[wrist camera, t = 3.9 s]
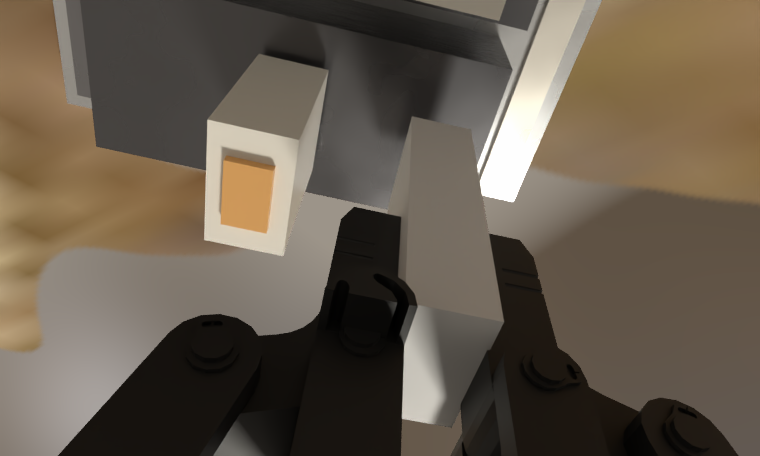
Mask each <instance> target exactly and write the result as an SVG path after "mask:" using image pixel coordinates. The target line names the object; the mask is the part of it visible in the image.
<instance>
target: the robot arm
mask: <svg viewBox="0 0 760 456" xmlns="http://www.w3.org/2000/svg"><path fill="white" fill-rule="evenodd" d="M488 232H489V231H488V226H487V220H486V214H485V209H484V203H483V197H482V191H481V185H480V179H479V173H478V168H477V162H476V156H475V150H474V144H473V139H472V133H471V129H466V128H462V127H458V126H453V125H449V124H444V123H440V122H435V121H431V120H426V119H422V118H417V117H413V116H412V118H411V122H410V126H409V130H408V133H407V137H406V141H405V145H404V149H403V152H402V156H401V160H400V164H399V167H398V171H397V175H396V179H395V183H394V186H393V190H392V194H391V198H390V202H389V205H388V214H385V213H380V212H375V211H371V210H366V209H362V208H357V207H354V208H353V209H352V210H350V211H349V212H348V213H347V214H346V215H345V216H344V217H343V218H342V219H341V222H340V226H339V231H338V236H337V240H336V246H335V249H334V254H333V259H332V263H331V268H330V273H329V277H328V282H327V286H326V287H325V291H324V296H323V301H322V306H321V310H320V312H319V314H318V315H317V316H316V318H315V319H314V320H313V321H312V322H311V323H309V324H308V325H306V326H305V327H303V328H301V329H298V330H296V331H293V332H289V333H284V334H277V335H263V336H258V335H257V334H256V332H255V331H254V329H253V328H252V327H251V326H249V325H248V324H246V323H245V322H243V321H241V320H239V319H238V318H235V317H230V316H225V315H221V314H215V315H201V316H198V317H195V318H192V319H189V320H187V321H184V322H182V323H181V324H180V325H178V326H177V327H176V328H174V329H173V330H172V331H170V332H169V333H168V334H167V335H166V337H165V338H164V339H163V340H162V341H161V342H160V343H159V344H158V346H157V347H156V348H155V349H154V350H153V351H152V352H151V353H150V354H149V355H148V356H147V358H146V359H145V360H144V361H143V362H142V363H141V364H140V365H139V366H138V368H137V369H136V370H135V371H134V372H133V373H132V374H131V375H130V376H129V378H128V379H127V380H126V381H125V382H124V383H123V384H122V385H121V387H119V389H118V390H117V391H116V392H115V393H114V394H113V395H112V396H111V398H110V399H109V400H108V401H107V402H106V403H105V404H104V405H103V406H102V407H101V409H100V410H99V411H98V412H97V413H96V414H95V415H94V416H93V417H92V419H91V420H90V421H89V422H88V423H87V424H86V425H85V426H84V428H83V429H82V430H81V431H80V432H79V433H78V434H77V435H76V436H75V437H74V439H73V440H72V441H71V442H70V443H69V444H68V445H67V446H66V447H65V448H64V450H63V451H62V452H61V453H60V454H59V455H58V456H401V430H402V418H403V419H408V420H413V421H418V422H424V423H429V424H435V425H440V426H445V427H452V426H453V424H454V422H455V420H456V417H457V416H458V414H459V412H460V410H461V419H462V435H461V437H460V439H459V440H458V442H457V444H456V446H455V448H454V450H453V452H452V454H451V456H738V455H737V453H736V452H735V451H734V449H733V448H732V446H731V445H730V444H729V442H728V441H727V440H726V438H725V437H724V436H723V434H722V433H721V432H720V431H719V430H718V429H717V428H716V427H715V426H714V424H713V423H712V422H711V421H710V420H709V419H707V418H706V417H705V416H703V415H702V414H701V413H699V412H698V411H696V410H695V409H694V408H692V407H690V406H688V405H685V404H683V403H681V402H679V401H676V400H671V399H665V398H658V399H654V400H650V401H648V402H647V403H646V404H645V406H644V407H643V408H642V409H641V411H640V412H639V411H636V410H634V409H632V408H630V407H628V406H626V405H623V404H621V403H619V402H617V401H615V400H613V399H610V398H608V397H606V396H604V395H602V394H600V393H598V392H597V391H595V390H593V389H591V388H590V387H589V386H588V383H587V380H586V378H585V376H584V374H583V372H582V370H581V368H580V367H579V366H578V364H577V363H576V362H575V361H574V360H573V359H572V358H571V357H570V356H569V355H568V354H567V353H565V352H563V351H562V350H560V349H559V348H558V347H557V343H556V339H555V336H554V332H553V328H552V325H551V321H550V318H549V313H548V310H547V306H546V302H545V299H544V295H543V294H542V288H541V284H540V280H539V279H538V273H537V269H536V265H535V262H534V258H533V256H532V255H531V254H530V253H529V251H528V250H527V249H526V248H525V246H524V245H523V244H522V242H521V241H520V240H517V239H512V238H507V237H503V236H498V235H493V234H489V233H488Z"/></svg>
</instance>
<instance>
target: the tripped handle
mask: <svg viewBox="0 0 760 456" xmlns="http://www.w3.org/2000/svg"><path fill="white" fill-rule="evenodd" d="M328 71H329V70H326V69H322V68H317V67H313V66H309V65H305V64H300V63H296V62H292V61H288V60H283V59H279V58H275V57H270V56H266V55H262V54H258V56H257V57H256V58H255V59H254V61H253V62H252V63H251V65H250V66H249V67H248V68H247V70H246V71H245V72H244V73H243V75H242V76H241V77H240V79H239V80H238V81H237V82H236V84H235V85H234V86H233V88H232V89H231V90H230V91H229V93H228V94H227V95H226V96H225V98H224V99H223V100H222V102H221V103H220V104H219V105H218V107H217V108H216V109H215V110H214V112H213V113H212V114H211V116H210V117H209V118H208V119H207V154H206V194H205V233H204V240H208V241H213V242H217V243H222V244H227V245H232V246H237V247H241V248H246V249H251V250H256V251H261V252H266V253H271V254H275V255H280V256H283V255H284V252H285V249H286V246H287V243H288V241H289V238H290V235H291V232H292V229H293V225H294V223H295V220H296V217H297V214H298V211H299V208H300V205H301V202H302V199H303V196H304V193H305V190H306V187H307V184H308V181H309V179H310V176H311V173H312V170H313V164H314V157H315V151H316V145H317V139H318V133H319V126H320V120H321V114H322V108H323V102H324V96H325V89H326V83H327V77H328Z"/></svg>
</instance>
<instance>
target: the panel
mask: <svg viewBox="0 0 760 456" xmlns="http://www.w3.org/2000/svg"><path fill="white" fill-rule="evenodd" d="M601 1H602V0H506V2H505V5H504V8H503V11H502V14H501V17H500V20H499V21H497V20H493V19H489V18H485V17H481V16H477V15H473V14H468V13H464V12H460V11H456V10H452V9H448V8H444V7H440V6H436V5H432V4H428V3H424V2H420V1H416V0H53V5H54V12H55V19H56V26H57V33H58V40H59V47H60V54H61V62H62V69H63V76H64V83H65V90H66V97H67V103H69V104H73V105H78V106H82V107H87V108H91V109H92V111H93V120H94V129H95V138H96V147H101V148H106V149H110V150H115V151H120V152H124V153H129V154H133V155H138V156H143V157H147V158H152V159H156V160H161V161H166V162H170V163H175V164H180V165H184V166H189V167H193V168H198V169H203V170H206V154H207V119H208V118H209V117H210V116H211V114H212V113H213V112H214V110H215V109H216V108H217V107H218V105H219V104H220V103H221V102H222V100H223V99H224V98H225V96H226V95H227V94H228V93H229V91H230V90H231V89H232V88H233V86H234V85H235V84H236V82H237V81H238V80H239V79H240V77H241V76H242V75H243V73H244V72H245V71H246V70H247V68H248V67H249V66H250V65H251V63H252V62H253V61H254V59H255V58H256V57H257V56H258V54H262V55H266V56H270V57H275V58H279V59H283V60H288V61H292V62H296V63H300V64H305V65H309V66H313V67H317V68H322V69H326V70H329V71H328V77H327V83H326V89H325V96H324V102H323V108H322V114H321V120H320V126H319V133H318V139H317V145H316V151H315V157H314V164H313V170H312V173H311V176H310V179H309V181H308V184H307V187H306V190H305V192H309V193H313V194H318V195H323V196H327V197H332V198H337V199H341V200H346V201H351V202H355V203H360V204H364V205H369V206H373V207H378V208H383V209H387V210H388V205H389V202H390V198H391V194H392V190H393V186H394V183H395V179H396V175H397V171H398V167H399V164H400V160H401V156H402V152H403V149H404V145H405V141H406V137H407V133H408V130H409V126H410V122H411V118H412V116H413V117H417V118H422V119H426V120H431V121H435V122H440V123H444V124H449V125H453V126H458V127H462V128H466V129H471V133H472V139H473V144H474V150H475V156H476V162H477V168H478V173H479V179H480V185H481V191H482V195H484V196H488V197H493V198H497V199H502V200H506V201H511V202H514V199H515V197H516V195H517V193H518V190H519V188H520V186H521V184H522V181H523V179H524V177H525V175H526V172H527V170H528V168H529V165H530V163H531V161H532V159H533V156H534V154H535V152H536V149H537V147H538V145H539V143H540V140H541V138H542V136H543V133H544V131H545V129H546V127H547V124H548V122H549V120H550V117H551V115H552V113H553V111H554V108H555V106H556V104H557V101H558V99H559V97H560V95H561V92H562V90H563V88H564V85H565V83H566V81H567V79H568V76H569V74H570V72H571V70H572V67H573V65H574V63H575V60H576V58H577V56H578V54H579V51H580V49H581V47H582V44H583V42H584V40H585V38H586V35H587V33H588V31H589V28H590V26H591V24H592V22H593V19H594V17H595V15H596V12H597V10H598V8H599V6H600V3H601Z"/></svg>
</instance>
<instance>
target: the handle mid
mask: <svg viewBox="0 0 760 456" xmlns="http://www.w3.org/2000/svg"><path fill="white" fill-rule="evenodd" d="M416 1H420V2H424V3H428V4H432V5H436V6H440V7H444V8H448V9H452V10H456V11H460V12H464V13H468V14H473V15H477V16H481V17H485V18H489V19H493V20H497V21H499V20H500V17H501V14H502V11H503V8H504V5H505V2H506V0H416Z"/></svg>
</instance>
